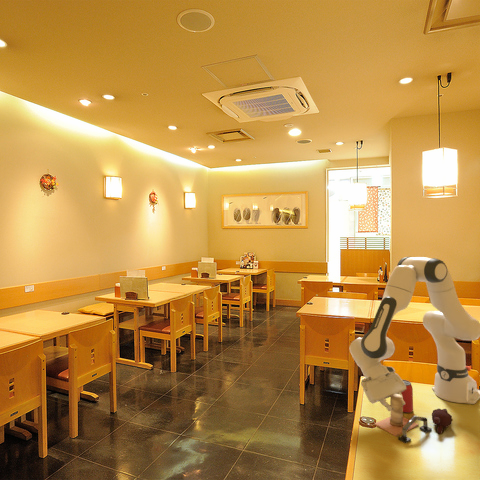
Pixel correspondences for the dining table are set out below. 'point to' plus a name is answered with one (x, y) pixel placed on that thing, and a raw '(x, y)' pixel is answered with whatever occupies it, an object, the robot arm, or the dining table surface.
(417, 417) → the bent metal handle
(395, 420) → the birch post
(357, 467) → the dining table surface
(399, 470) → the dining table surface
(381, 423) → the tile
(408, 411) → the beer can
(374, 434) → the dining table surface
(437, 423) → the icecream
